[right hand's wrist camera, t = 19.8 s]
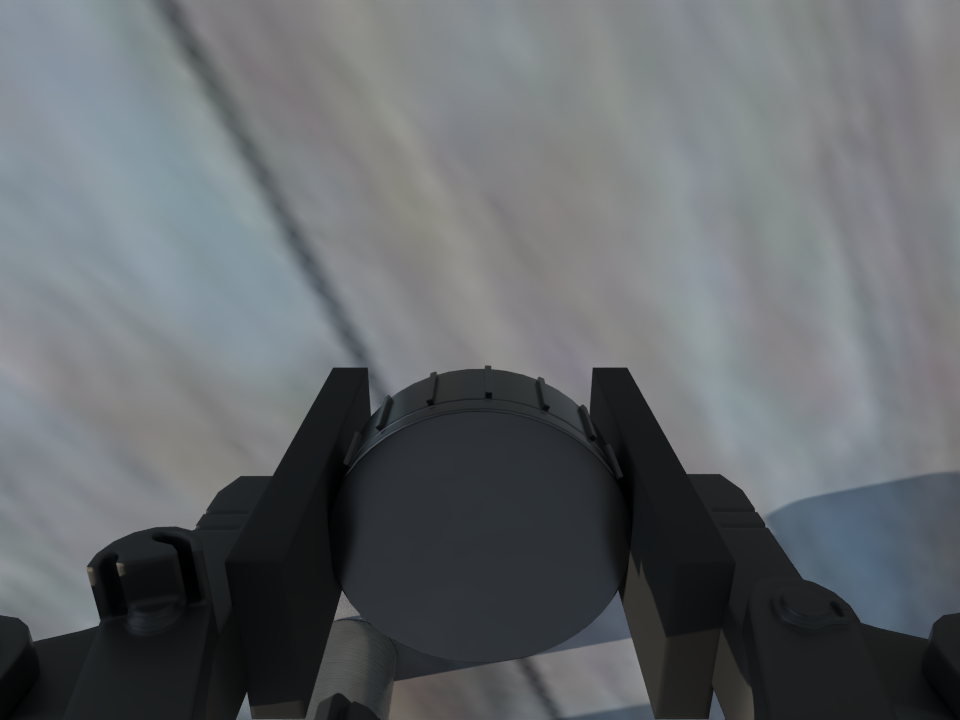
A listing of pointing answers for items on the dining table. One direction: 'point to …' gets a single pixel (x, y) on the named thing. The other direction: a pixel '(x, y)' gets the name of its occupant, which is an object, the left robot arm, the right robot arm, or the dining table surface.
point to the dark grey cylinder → (356, 668)
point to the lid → (480, 517)
